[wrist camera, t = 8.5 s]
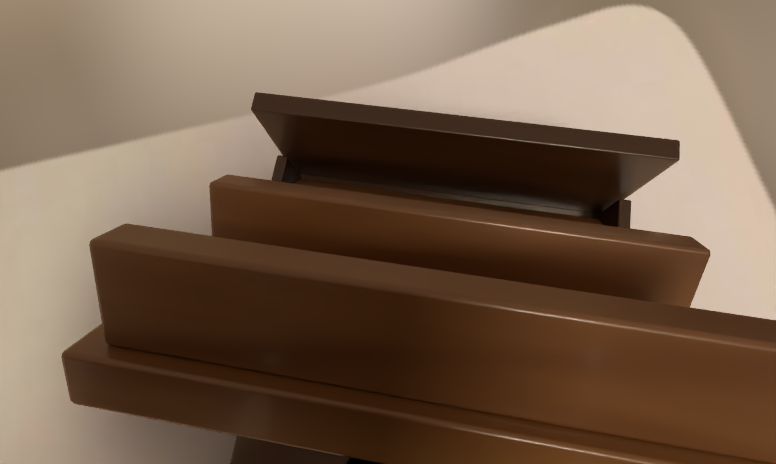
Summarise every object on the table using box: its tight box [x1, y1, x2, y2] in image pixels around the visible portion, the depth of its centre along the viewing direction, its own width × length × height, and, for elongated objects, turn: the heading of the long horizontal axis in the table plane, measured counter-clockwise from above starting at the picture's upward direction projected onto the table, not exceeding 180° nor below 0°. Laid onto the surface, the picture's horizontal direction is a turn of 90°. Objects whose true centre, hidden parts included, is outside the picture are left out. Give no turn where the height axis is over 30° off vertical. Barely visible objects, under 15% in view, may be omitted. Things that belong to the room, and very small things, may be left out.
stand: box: [230, 92, 680, 464], centre depth 14 cm, size 14×12×6 cm
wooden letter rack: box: [62, 175, 776, 464], centre depth 11 cm, size 11×11×3 cm
